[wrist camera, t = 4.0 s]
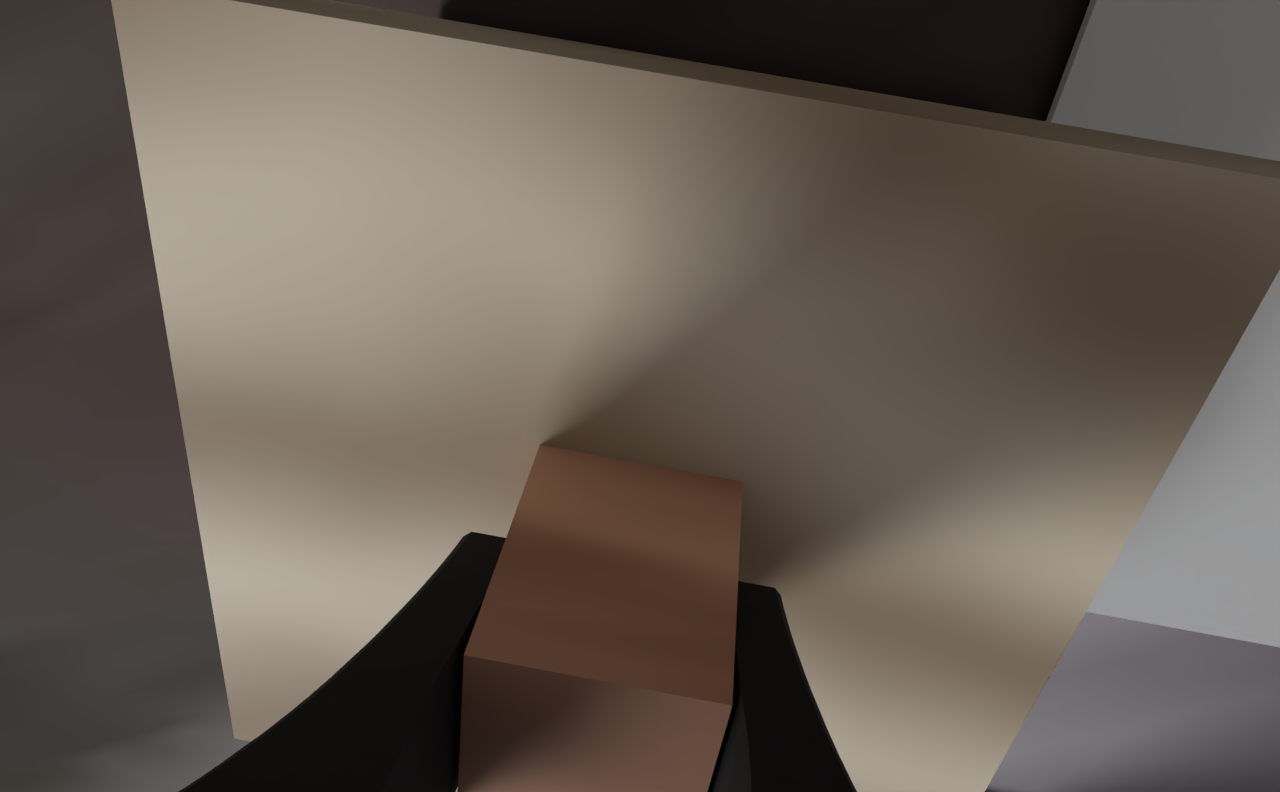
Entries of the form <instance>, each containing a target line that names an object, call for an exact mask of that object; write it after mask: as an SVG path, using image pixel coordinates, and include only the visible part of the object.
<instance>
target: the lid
mask: <svg viewBox="0 0 1280 792" xmlns="http://www.w3.org/2000/svg"><path fill="white" fill-rule="evenodd" d="M111 2H112V8H113V14H114V20H115V26H116V32H117V38H118V44H119V50H120V56H121V62H122V68H123V74H124V80H125V86H126V92H127V98H128V104H129V110H130V115H131V121H132V127H133V133H134V139H135V145H136V151H137V157H138V163H139V169H140V175H141V181H142V187H143V193H144V199H145V205H146V211H147V217H148V223H149V229H150V235H151V241H152V247H153V253H154V259H155V265H156V271H157V277H158V283H159V289H160V295H161V301H162V307H163V313H164V319H165V325H166V331H167V337H168V343H169V349H170V355H171V361H172V367H173V373H174V379H175V385H176V391H177V397H178V403H179V409H180V415H181V421H182V427H183V433H184V439H185V445H186V451H187V457H188V463H189V469H190V475H191V481H192V487H193V493H194V499H195V505H196V511H197V517H198V523H199V529H200V535H201V541H202V547H203V553H204V559H205V565H206V571H207V577H208V583H209V589H210V595H211V601H212V607H213V613H214V619H215V625H216V631H217V637H218V643H219V649H220V655H221V661H222V667H223V673H224V679H225V685H226V691H227V697H228V703H229V709H230V715H231V721H232V727H233V733H234V738H236V739H241V740H246V741H253V740H254V739H255V738H257V737H258V736H260V735H261V734H262V733H264V732H265V731H266V730H268V729H269V728H270V727H271V726H273V725H274V724H275V723H276V722H278V721H279V720H280V719H282V718H283V717H284V716H285V715H287V714H288V713H289V712H290V711H292V710H293V709H294V708H295V707H297V706H298V705H299V704H300V703H301V702H303V701H304V700H305V699H306V698H307V697H309V696H310V695H311V694H312V693H313V692H314V691H316V690H317V689H318V688H319V687H320V686H321V685H323V684H324V683H325V682H326V681H327V680H328V679H329V678H331V677H332V676H333V675H334V674H335V673H336V672H337V671H338V670H339V669H340V668H341V667H342V666H344V665H345V664H346V663H347V662H348V661H349V660H350V659H351V658H352V657H353V656H354V655H355V654H356V653H358V652H359V651H360V650H361V649H362V648H363V647H364V646H365V645H366V644H367V643H368V642H369V641H370V640H371V639H372V638H373V637H374V636H375V635H376V634H377V633H378V632H379V631H380V630H381V629H382V628H383V627H384V626H385V625H386V624H387V623H388V622H389V621H390V620H391V619H392V618H393V617H394V616H395V615H396V614H397V613H398V612H399V611H400V610H401V609H402V608H403V607H404V605H405V604H406V603H407V602H408V601H409V600H410V599H411V598H412V597H413V596H414V595H415V594H416V593H417V592H418V590H419V589H420V588H421V587H422V586H423V585H424V584H425V583H426V581H427V580H428V579H429V578H430V577H431V576H432V575H433V573H434V572H435V571H436V570H437V569H438V568H439V566H440V565H441V564H442V563H443V562H444V560H445V559H446V558H447V557H448V555H449V554H450V553H451V552H452V550H453V549H454V548H455V547H456V545H457V544H458V543H459V541H460V540H461V539H462V537H463V536H465V535H466V534H468V533H470V532H477V533H482V534H488V535H493V536H498V537H504V538H506V540H505V542H504V545H503V548H502V551H501V553H500V556H499V559H498V562H497V565H496V567H495V570H494V573H493V576H492V578H491V581H490V584H489V587H488V589H487V592H486V595H485V598H484V600H483V603H482V606H481V609H480V612H479V614H478V617H477V620H476V623H475V625H474V628H473V631H472V634H471V636H470V639H469V642H468V645H467V647H466V650H465V653H464V661H463V684H462V706H461V728H460V751H459V773H458V792H707V791H708V788H709V784H710V781H711V778H712V774H713V771H714V767H715V764H716V760H717V757H718V754H719V750H720V747H721V743H722V740H723V736H724V733H725V729H726V726H727V723H728V719H729V716H730V712H731V709H732V704H733V682H734V660H735V638H736V616H737V594H738V581H741V582H747V583H752V584H758V585H763V586H769V587H774V588H776V590H777V591H778V592H779V594H780V595H781V598H782V602H783V606H784V610H785V614H786V617H787V621H788V624H789V628H790V631H791V634H792V637H793V640H794V644H795V647H796V650H797V652H798V655H799V658H800V661H801V664H802V667H803V670H804V672H805V675H806V678H807V680H808V683H809V685H810V688H811V691H812V693H813V695H814V698H815V700H816V703H817V705H818V708H819V710H820V712H821V715H822V717H823V720H824V722H825V725H826V727H827V729H828V732H829V734H830V736H831V738H832V740H833V743H834V745H835V747H836V749H837V752H838V754H839V756H840V758H841V760H842V762H843V764H844V766H845V768H846V770H847V772H848V774H849V777H850V779H851V781H852V783H853V785H854V787H855V789H856V791H857V792H985V790H986V788H987V787H988V785H989V783H990V781H991V780H992V778H993V776H994V774H995V773H996V771H997V769H998V767H999V765H1000V764H1001V762H1002V760H1003V758H1004V757H1005V755H1006V753H1007V751H1008V749H1009V748H1010V746H1011V744H1012V742H1013V741H1014V739H1015V737H1016V735H1017V734H1018V732H1019V730H1020V728H1021V726H1022V725H1023V723H1024V721H1025V719H1026V718H1027V716H1028V714H1029V712H1030V711H1031V709H1032V707H1033V705H1034V703H1035V702H1036V700H1037V698H1038V696H1039V695H1040V693H1041V691H1042V689H1043V688H1044V686H1045V684H1046V682H1047V680H1048V679H1049V677H1050V675H1051V673H1052V672H1053V670H1054V668H1055V666H1056V665H1057V663H1058V661H1059V659H1060V657H1061V656H1062V654H1063V652H1064V650H1065V649H1066V647H1067V645H1068V643H1069V642H1070V640H1071V638H1072V636H1073V634H1074V633H1075V631H1076V629H1077V627H1078V626H1079V624H1080V622H1081V620H1082V619H1083V617H1084V615H1085V613H1086V611H1087V610H1088V608H1089V606H1090V604H1091V603H1092V601H1093V599H1094V597H1095V596H1096V594H1097V592H1098V590H1099V588H1100V587H1101V585H1102V583H1103V581H1104V580H1105V578H1106V576H1107V574H1108V573H1109V571H1110V569H1111V567H1112V565H1113V564H1114V562H1115V560H1116V558H1117V557H1118V555H1119V553H1120V551H1121V550H1122V548H1123V546H1124V544H1125V542H1126V541H1127V539H1128V537H1129V535H1130V534H1131V532H1132V530H1133V528H1134V527H1135V525H1136V523H1137V521H1138V519H1139V518H1140V516H1141V514H1142V512H1143V511H1144V509H1145V507H1146V505H1147V504H1148V502H1149V500H1150V498H1151V496H1152V495H1153V493H1154V491H1155V489H1156V488H1157V486H1158V484H1159V482H1160V481H1161V479H1162V477H1163V475H1164V473H1165V472H1166V470H1167V468H1168V466H1169V465H1170V463H1171V461H1172V459H1173V458H1174V456H1175V454H1176V452H1177V450H1178V449H1179V447H1180V445H1181V443H1182V442H1183V440H1184V438H1185V436H1186V435H1187V433H1188V431H1189V429H1190V427H1191V426H1192V424H1193V422H1194V420H1195V419H1196V417H1197V415H1198V413H1199V412H1200V410H1201V408H1202V406H1203V404H1204V403H1205V401H1206V399H1207V397H1208V396H1209V394H1210V392H1211V390H1212V389H1213V387H1214V385H1215V383H1216V381H1217V380H1218V378H1219V376H1220V374H1221V373H1222V371H1223V369H1224V367H1225V366H1226V364H1227V362H1228V360H1229V358H1230V357H1231V355H1232V353H1233V351H1234V350H1235V348H1236V346H1237V344H1238V343H1239V341H1240V339H1241V337H1242V335H1243V334H1244V332H1245V330H1246V328H1247V327H1248V325H1249V323H1250V321H1251V320H1252V318H1253V316H1254V314H1255V312H1256V311H1257V309H1258V307H1259V305H1260V304H1261V302H1262V300H1263V298H1264V297H1265V295H1266V293H1267V291H1268V289H1269V288H1270V286H1271V284H1272V282H1273V281H1274V279H1275V277H1276V275H1277V274H1278V272H1279V270H1280V161H1275V160H1269V159H1264V158H1258V157H1252V156H1246V155H1240V154H1234V153H1228V152H1222V151H1216V150H1211V149H1205V148H1199V147H1193V146H1187V145H1181V144H1175V143H1169V142H1163V141H1158V140H1152V139H1146V138H1140V137H1134V136H1128V135H1122V134H1116V133H1111V132H1105V131H1099V130H1093V129H1087V128H1081V127H1075V126H1069V125H1063V124H1058V123H1052V122H1046V121H1040V120H1034V119H1028V118H1022V117H1016V116H1010V115H1005V114H999V113H993V112H987V111H981V110H975V109H969V108H963V107H957V106H952V105H946V104H940V103H934V102H928V101H922V100H916V99H910V98H905V97H899V96H893V95H887V94H881V93H875V92H869V91H863V90H857V89H852V88H846V87H840V86H834V85H828V84H822V83H816V82H810V81H804V80H799V79H793V78H787V77H781V76H775V75H769V74H763V73H757V72H752V71H746V70H740V69H734V68H728V67H722V66H716V65H710V64H704V63H699V62H693V61H687V60H681V59H675V58H669V57H663V56H657V55H651V54H646V53H640V52H634V51H628V50H622V49H616V48H610V47H604V46H598V45H593V44H587V43H581V42H575V41H569V40H563V39H557V38H551V37H546V36H540V35H534V34H528V33H522V32H516V31H510V30H504V29H498V28H493V27H487V26H481V25H475V24H469V23H463V22H457V21H451V20H445V19H440V18H434V17H428V16H422V15H416V14H410V13H404V12H398V11H393V10H387V9H381V8H375V7H369V6H363V5H357V4H351V3H345V2H340V1H334V0H111Z"/></svg>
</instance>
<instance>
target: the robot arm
mask: <svg viewBox="0 0 1280 792" xmlns="http://www.w3.org/2000/svg"><path fill="white" fill-rule="evenodd" d="M505 540H506V538H504V537H498V536H493V535H488V534H482V533H477V532H470V533H468V534H466V535H465V536H463V537H462V539H461V540H460V541H459V543H458V544H457V545H456V547H455V548H454V549H453V550H452V552H451V553H450V554H449V555H448V557H447V558H446V559H445V560H444V562H443V563H442V564H441V565H440V566H439V568H438V569H437V570H436V571H435V572H434V573H433V575H432V576H431V577H430V578H429V579H428V580H427V581H426V583H425V584H424V585H423V586H422V587H421V588H420V589H419V590H418V592H417V593H416V594H415V595H414V596H413V597H412V598H411V599H410V600H409V601H408V602H407V603H406V604H405V605H404V607H403V608H402V609H401V610H400V611H399V612H398V613H397V614H396V615H395V616H394V617H393V618H392V619H391V620H390V621H389V622H388V623H387V624H386V625H385V626H384V627H383V628H382V629H381V630H380V631H379V632H378V633H377V634H376V635H375V636H374V637H373V638H372V639H371V640H370V641H369V642H368V643H367V644H366V645H365V646H364V647H363V648H362V649H361V650H360V651H359V652H358V653H356V654H355V655H354V656H353V657H352V658H351V659H350V660H349V661H348V662H347V663H346V664H345V665H344V666H342V667H341V668H340V669H339V670H338V671H337V672H336V673H335V674H334V675H333V676H332V677H331V678H329V679H328V680H327V681H326V682H325V683H324V684H323V685H321V686H320V687H319V688H318V689H317V690H316V691H314V692H313V693H312V694H311V695H310V696H309V697H307V698H306V699H305V700H304V701H303V702H301V703H300V704H299V705H298V706H297V707H295V708H294V709H293V710H292V711H290V712H289V713H288V714H287V715H285V716H284V717H283V718H282V719H280V720H279V721H278V722H276V723H275V724H274V725H273V726H271V727H270V728H269V729H268V730H266V731H265V732H264V733H262V734H261V735H260V736H258V737H257V738H255V739H254V740H253V741H251V742H250V743H249V744H247V745H246V746H244V747H243V748H242V749H240V750H239V751H237V752H236V753H235V754H233V755H232V756H231V757H229V758H228V759H226V760H225V761H224V762H222V763H221V764H220V765H218V766H217V767H215V768H214V769H212V770H211V771H209V772H208V773H206V774H205V775H203V776H202V777H201V778H199V779H197V780H196V781H194V782H193V783H191V784H190V785H188V786H187V787H185V788H184V789H182V790H180V791H179V792H456V789H457V787H458V773H459V751H460V728H461V706H462V684H463V661H464V653H465V650H466V647H467V645H468V642H469V639H470V636H471V634H472V631H473V628H474V625H475V623H476V620H477V617H478V614H479V612H480V609H481V606H482V603H483V600H484V598H485V595H486V592H487V589H488V587H489V584H490V581H491V578H492V576H493V573H494V570H495V567H496V565H497V562H498V559H499V556H500V553H501V551H502V548H503V545H504V542H505ZM707 792H857V791H856V789H855V787H854V785H853V783H852V781H851V779H850V777H849V774H848V772H847V770H846V768H845V766H844V764H843V762H842V760H841V758H840V756H839V754H838V752H837V749H836V747H835V745H834V743H833V740H832V738H831V736H830V734H829V732H828V729H827V727H826V725H825V722H824V720H823V717H822V715H821V712H820V710H819V708H818V705H817V703H816V700H815V698H814V695H813V693H812V691H811V688H810V685H809V683H808V680H807V678H806V675H805V672H804V670H803V667H802V664H801V661H800V658H799V655H798V652H797V650H796V647H795V644H794V640H793V637H792V634H791V631H790V628H789V624H788V621H787V617H786V614H785V610H784V606H783V602H782V598H781V595H780V594H779V592H778V591H777V590H776V588H774V587H769V586H763V585H758V584H752V583H747V582H741V581H738V594H737V616H736V638H735V660H734V682H733V704H732V709H731V712H730V716H729V719H728V723H727V726H726V729H725V733H724V736H723V740H722V743H721V747H720V750H719V754H718V757H717V760H716V764H715V767H714V771H713V774H712V778H711V781H710V784H709V788H708V791H707Z"/></svg>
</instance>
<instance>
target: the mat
mask: <svg viewBox="0 0 1280 792" xmlns="http://www.w3.org/2000/svg"><path fill="white" fill-rule="evenodd" d="M1046 122H1052V123H1058V124H1063V125H1069V126H1075V127H1081V128H1087V129H1093V130H1099V131H1105V132H1111V133H1116V134H1122V135H1128V136H1134V137H1140V138H1146V139H1152V140H1158V141H1163V142H1169V143H1175V144H1181V145H1187V146H1193V147H1199V148H1205V149H1211V150H1216V151H1222V152H1228V153H1234V154H1240V155H1246V156H1252V157H1258V158H1264V159H1269V160H1275V161H1280V0H1090V3H1089V6H1088V8H1087V11H1086V14H1085V16H1084V19H1083V22H1082V25H1081V27H1080V30H1079V33H1078V35H1077V38H1076V41H1075V43H1074V46H1073V49H1072V52H1071V54H1070V57H1069V60H1068V62H1067V65H1066V68H1065V70H1064V73H1063V76H1062V79H1061V81H1060V84H1059V87H1058V89H1057V92H1056V95H1055V97H1054V100H1053V103H1052V106H1051V108H1050V111H1049V114H1048V116H1047V119H1046ZM1086 612H1091V613H1096V614H1102V615H1107V616H1113V617H1118V618H1123V619H1129V620H1134V621H1140V622H1145V623H1151V624H1156V625H1162V626H1167V627H1172V628H1178V629H1183V630H1189V631H1194V632H1200V633H1205V634H1211V635H1216V636H1221V637H1227V638H1232V639H1238V640H1243V641H1249V642H1254V643H1259V644H1265V645H1270V646H1276V647H1280V270H1279V272H1278V274H1277V275H1276V277H1275V279H1274V281H1273V282H1272V284H1271V286H1270V288H1269V289H1268V291H1267V293H1266V295H1265V297H1264V298H1263V300H1262V302H1261V304H1260V305H1259V307H1258V309H1257V311H1256V312H1255V314H1254V316H1253V318H1252V320H1251V321H1250V323H1249V325H1248V327H1247V328H1246V330H1245V332H1244V334H1243V335H1242V337H1241V339H1240V341H1239V343H1238V344H1237V346H1236V348H1235V350H1234V351H1233V353H1232V355H1231V357H1230V358H1229V360H1228V362H1227V364H1226V366H1225V367H1224V369H1223V371H1222V373H1221V374H1220V376H1219V378H1218V380H1217V381H1216V383H1215V385H1214V387H1213V389H1212V390H1211V392H1210V394H1209V396H1208V397H1207V399H1206V401H1205V403H1204V404H1203V406H1202V408H1201V410H1200V412H1199V413H1198V415H1197V417H1196V419H1195V420H1194V422H1193V424H1192V426H1191V427H1190V429H1189V431H1188V433H1187V435H1186V436H1185V438H1184V440H1183V442H1182V443H1181V445H1180V447H1179V449H1178V450H1177V452H1176V454H1175V456H1174V458H1173V459H1172V461H1171V463H1170V465H1169V466H1168V468H1167V470H1166V472H1165V473H1164V475H1163V477H1162V479H1161V481H1160V482H1159V484H1158V486H1157V488H1156V489H1155V491H1154V493H1153V495H1152V496H1151V498H1150V500H1149V502H1148V504H1147V505H1146V507H1145V509H1144V511H1143V512H1142V514H1141V516H1140V518H1139V519H1138V521H1137V523H1136V525H1135V527H1134V528H1133V530H1132V532H1131V534H1130V535H1129V537H1128V539H1127V541H1126V542H1125V544H1124V546H1123V548H1122V550H1121V551H1120V553H1119V555H1118V557H1117V558H1116V560H1115V562H1114V564H1113V565H1112V567H1111V569H1110V571H1109V573H1108V574H1107V576H1106V578H1105V580H1104V581H1103V583H1102V585H1101V587H1100V588H1099V590H1098V592H1097V594H1096V596H1095V597H1094V599H1093V601H1092V603H1091V604H1090V606H1089V608H1088V610H1087V611H1086Z"/></svg>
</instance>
